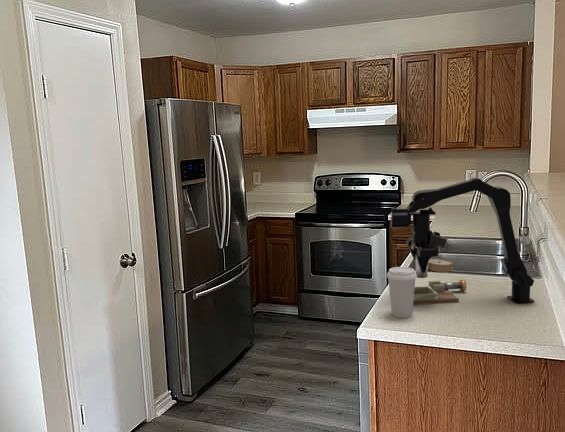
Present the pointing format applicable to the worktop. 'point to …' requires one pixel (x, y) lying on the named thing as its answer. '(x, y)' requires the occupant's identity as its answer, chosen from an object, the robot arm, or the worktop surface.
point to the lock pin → (456, 285)
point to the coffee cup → (401, 291)
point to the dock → (433, 294)
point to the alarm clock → (439, 265)
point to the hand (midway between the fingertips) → (421, 271)
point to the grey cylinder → (418, 271)
